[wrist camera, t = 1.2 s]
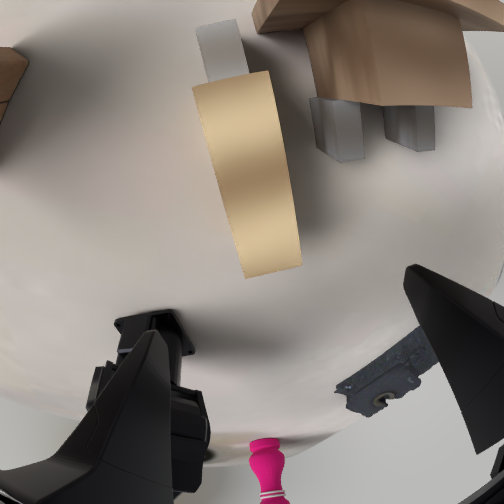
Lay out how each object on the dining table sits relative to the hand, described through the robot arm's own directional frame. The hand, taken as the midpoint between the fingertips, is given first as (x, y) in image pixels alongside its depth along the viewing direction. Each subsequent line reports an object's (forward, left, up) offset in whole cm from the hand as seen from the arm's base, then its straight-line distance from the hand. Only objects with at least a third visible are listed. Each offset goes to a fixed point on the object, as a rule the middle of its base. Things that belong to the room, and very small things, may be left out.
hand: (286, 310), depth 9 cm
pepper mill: (-52, +8, -12) cm, 54 cm away
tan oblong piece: (+3, 0, -12) cm, 12 cm away
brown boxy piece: (+8, -9, -12) cm, 17 cm away
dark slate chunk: (-32, -18, -12) cm, 38 cm away
